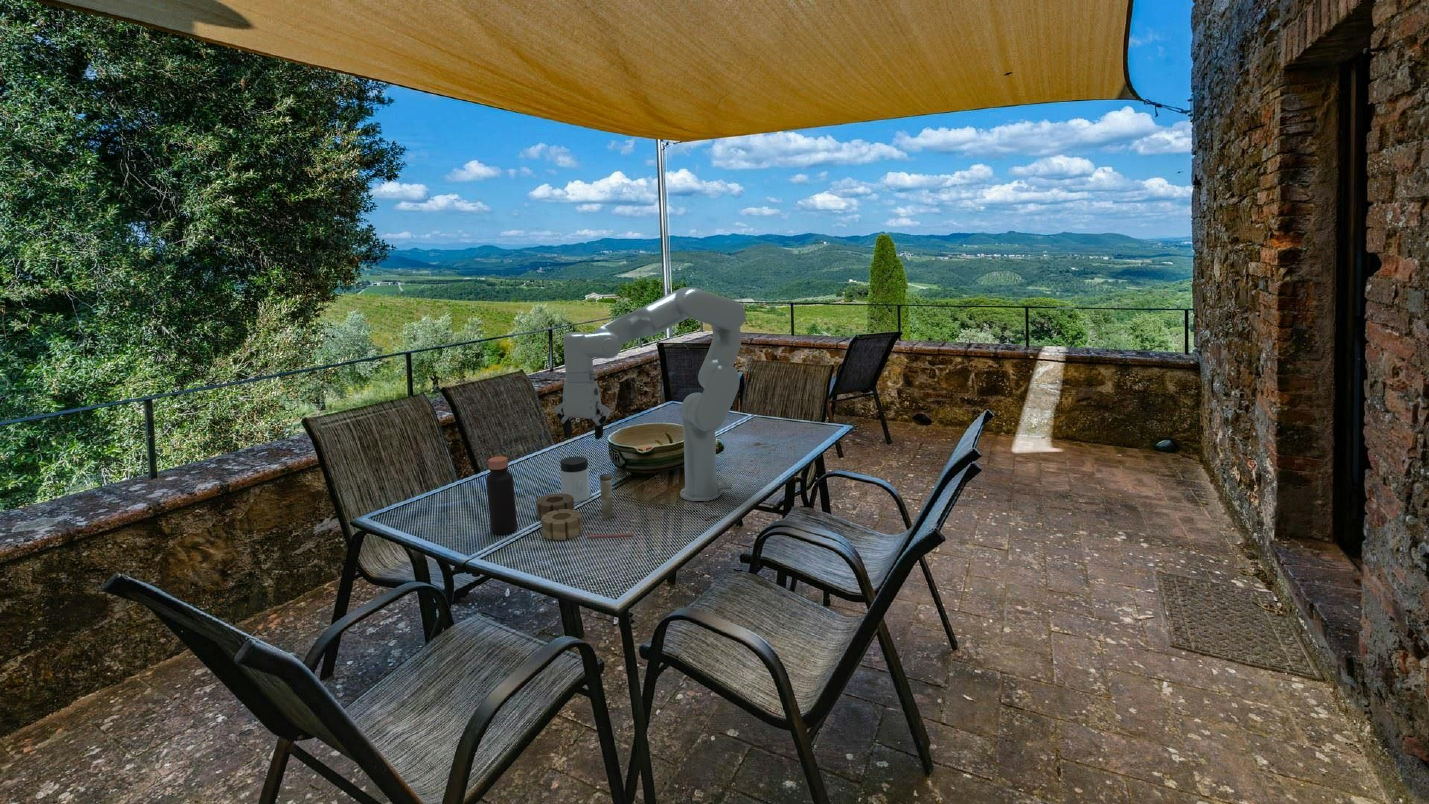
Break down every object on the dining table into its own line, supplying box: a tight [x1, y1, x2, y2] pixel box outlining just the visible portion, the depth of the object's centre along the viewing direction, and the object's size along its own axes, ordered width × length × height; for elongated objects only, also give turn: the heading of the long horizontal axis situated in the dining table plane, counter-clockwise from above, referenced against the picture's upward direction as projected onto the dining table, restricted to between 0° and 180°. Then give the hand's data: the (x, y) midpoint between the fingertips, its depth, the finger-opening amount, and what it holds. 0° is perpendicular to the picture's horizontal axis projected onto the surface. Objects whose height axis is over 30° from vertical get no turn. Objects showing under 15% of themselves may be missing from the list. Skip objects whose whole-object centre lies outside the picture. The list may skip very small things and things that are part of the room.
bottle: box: [485, 456, 518, 536], centre depth 173 cm, size 7×7×20 cm
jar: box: [559, 456, 591, 504], centre depth 198 cm, size 9×8×12 cm
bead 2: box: [540, 508, 583, 541], centre depth 173 cm, size 10×10×4 cm
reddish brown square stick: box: [586, 533, 635, 539], centre depth 170 cm, size 12×1×1 cm, turn 94°
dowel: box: [599, 473, 614, 519], centre depth 183 cm, size 3×3×12 cm
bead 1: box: [535, 492, 575, 520], centre depth 186 cm, size 10×10×4 cm
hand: (583, 437), depth 183 cm, fingers open, 9 cm apart
